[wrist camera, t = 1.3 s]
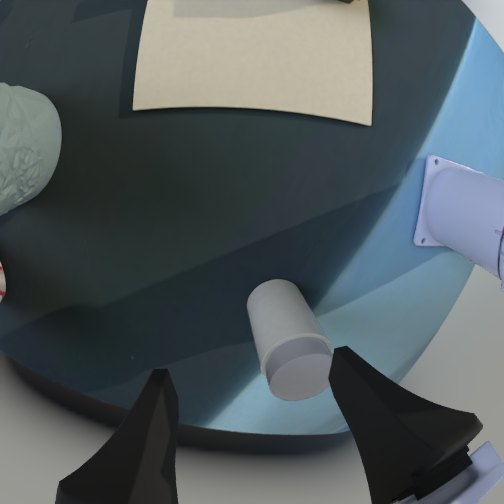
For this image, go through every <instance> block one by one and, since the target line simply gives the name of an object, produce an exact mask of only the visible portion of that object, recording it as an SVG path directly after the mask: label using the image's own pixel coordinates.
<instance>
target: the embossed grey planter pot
mask: <svg viewBox="0 0 504 504" xmlns="http://www.w3.org/2000/svg"><path fill="white" fill-rule="evenodd" d="M60 149H61V124H60V119H59V116H58V112H57V110H56V108H55V107H54V105H53V103H52V102H51V101H50V100H49V99H48V98H47V97H46V96H45V95H43V94H41V93H39V92H36V91H33V90H30V89H27V88H24V87H21V86H14V87H11V86H8V85H7V84H6V83H0V216H1V215H2V214H5V213H7V212H8V210H12V209H14V208H15V207H17V206H19V205H21V204H23V203H25V202H27V201H29V200H31V199H32V198H34V197H35V196H36V195H38V194H39V193H40V192H41V191H42V190H43V189H44V187H45V186H46V185H47V183H48V182H49V180H50V178H51V177H52V175H53V172H54V170H55V168H56V165H57V162H58V159H59V155H60Z"/></svg>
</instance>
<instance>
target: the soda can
mask: <svg viewBox="0 0 504 504" xmlns="http://www.w3.org/2000/svg"><path fill="white" fill-rule="evenodd" d="M5 292H6V282H5V276H4V272H3V268H2V265H1V262H0V302H1V301H2V299H3V298H4V296H5Z"/></svg>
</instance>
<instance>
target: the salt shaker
mask: <svg viewBox="0 0 504 504" xmlns="http://www.w3.org/2000/svg"><path fill="white" fill-rule="evenodd" d="M247 312H248V316H249V321H250V325H251V329H252V334H253V338H254V342H255V346H256V351H257V355H258V359H259V363H260V367H261V371H262V374H263V375H264V377H265V378H266V379H267V381H268V385H269V389H270V391H271V393H272V394H273V395H274V396H275V397H277V398H279V399H282V400H286V401H298V400H303V399H307V398H310V397H313V396H315V395H317V394H319V393H320V392H322V391H324V390H325V389H326V388H327V387H329V386H330V383H329V380H328V376H329V372H330V367H331V362H332V358H333V354H332V346H331V343H330V342H329V340H328V338H327V336H326V335H325V333H324V331H323V329H322V328H321V326H320V324H319V322H318V321H317V319H316V317H315V316H314V314H313V312H312V310H311V309H310V307H309V305H308V304H307V302H306V300H305V298H304V297H303V295H302V293H301V292H300V290H299V288H298V287H297V286H296V285H295V284H293V283H292V282H290V281H287V280H282V279H274V280H269V281H266V282H264V283H262V284H260V285H259V286H258V287H256V288H255V289H254V290H253V291H252V293H251V294H250V296H249V298H248V301H247Z"/></svg>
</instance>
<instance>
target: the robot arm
mask: <svg viewBox="0 0 504 504" xmlns="http://www.w3.org/2000/svg"><path fill="white" fill-rule="evenodd" d="M422 239H423V240H422ZM413 242H414V244H415V245H416V246H447V247H449V248H451V249H453V250H454V251H456V252H458V253H459V254H461V255H463V256H464V257H466V258H468V259H469V260H471V261H473V262H474V263H476V264H477V265H479V266H481V267H482V268H484V269H485V270H487V271H489V272H490V273H491V274H493V275H495V276H496V277H498V278H499V279H500V280H502V286H501V290H502V291H503V292H504V180H502V179H498V178H495V177H492V176H488V175H484V174H483V173H481V172H479V171H476V170H474V169H471V168H468V167H466V166H463V165H460V164H458V163H455V162H452V161H449V160H446V159H443V158H440V157H437V156H434V155H428V156H427V159H426V168H425V177H424V184H423V192H422V198H421V204H420V210H419V216H418V221H417V226H416V231H415V235H414V241H413ZM328 380H329V383H330V386H331V389H332V392H333V395H334V397H335V400H336V402H337V404H338V406H339V408H340V410H341V412H342V414H343V416H344V418H345V420H346V422H347V424H348V426H349V428H350V430H351V432H352V434H353V436H354V439H355V441H356V444H357V447H358V450H359V453H360V456H361V459H362V463H363V466H364V469H365V473H366V477H367V481H368V485H369V491H370V496H371V500H372V504H394V503H395V504H477V503H478V502H479V501H480V500H481V499H482V498H483V497H484V496H485V495H486V494H487V493H488V492H489V491H490V490H491V489H492V488H493V487H494V486H495V485H496V484H497V483H498V482H499V481H500V480H501V479H502V478H503V477H504V463H503V462H502V460H501V458H500V457H499V456H498V454H497V452H496V451H495V449H494V448H493V446H492V445H491V443H490V442H489V441H487V442H485V443H484V444H483V445H482V446H481V447H479V448H478V449H477V450H476V451H475V452H473V453H472V454H471V455H470V456H468V454H467V452H468V451H469V448H468V446H467V445H468V443H470V441H472V440H473V439H474V437H475V436H476V435H477V434H478V433H479V432H480V431H481V430H482V428H483V425H482V423H481V422H480V421H479V419H478V418H477V416H476V415H475V414H474V413H469V412H464V411H459V410H455V409H451V408H448V407H444V406H441V405H438V404H435V403H433V402H430V401H428V400H426V399H424V398H421V397H419V396H417V395H415V394H413V393H412V392H410V391H408V390H406V389H404V388H403V387H401V386H399V385H398V384H396V383H395V382H393V381H392V380H390V379H389V378H387V377H386V376H384V375H383V374H382V373H380V372H379V371H378V370H376V369H375V368H374V367H372V366H371V365H370V364H369V363H367V362H366V361H365V360H364V359H362V358H361V357H360V356H359V355H357V354H356V353H355V352H354V351H353V350H351V349H350V348H349V347H348V346H343V347H339V348H334V353H333V358H332V362H331V367H330V372H329V376H328ZM178 419H179V412H178V396H177V393H176V391H175V388H174V385H173V382H172V380H171V377H170V374H169V371H168V369H154V370H153V371H152V372H151V374H150V376H149V378H148V380H147V382H146V384H145V386H144V388H143V389H142V391H141V393H140V395H139V396H138V398H137V400H136V401H135V403H134V405H133V407H132V408H131V410H130V411H129V413H128V414H127V416H126V417H125V419H124V420H123V422H122V423H121V424H120V426H119V427H118V428H117V430H116V431H115V432H114V434H113V435H112V436H111V437H110V439H109V440H108V441H107V442H106V443H105V444H104V445H103V446H102V447H101V448H100V449H99V450H98V452H97V453H95V454H94V455H93V456H92V457H91V458H90V459H89V460H88V461H87V462H85V463H84V464H83V465H82V466H81V467H80V468H79V469H77V470H76V471H74V472H73V473H71V474H70V475H68V476H67V477H65V478H64V479H63V480H61V481H59V485H58V488H57V494H56V501H55V504H178V497H177V488H176V475H175V455H176V454H175V453H176V442H177V431H178ZM398 501H399V502H398ZM396 502H397V503H396Z"/></svg>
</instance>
